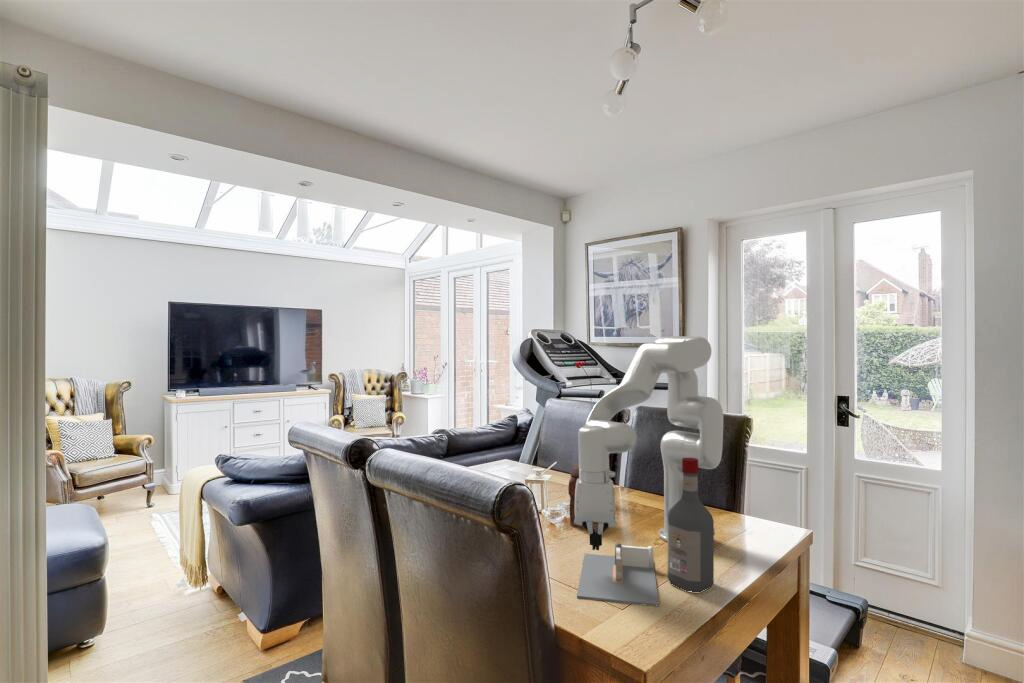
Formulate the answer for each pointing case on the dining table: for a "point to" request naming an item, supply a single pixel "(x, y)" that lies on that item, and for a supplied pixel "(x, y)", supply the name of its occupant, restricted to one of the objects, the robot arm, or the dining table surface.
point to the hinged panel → (618, 565)
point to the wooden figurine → (573, 493)
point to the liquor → (690, 536)
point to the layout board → (635, 577)
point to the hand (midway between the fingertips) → (595, 547)
